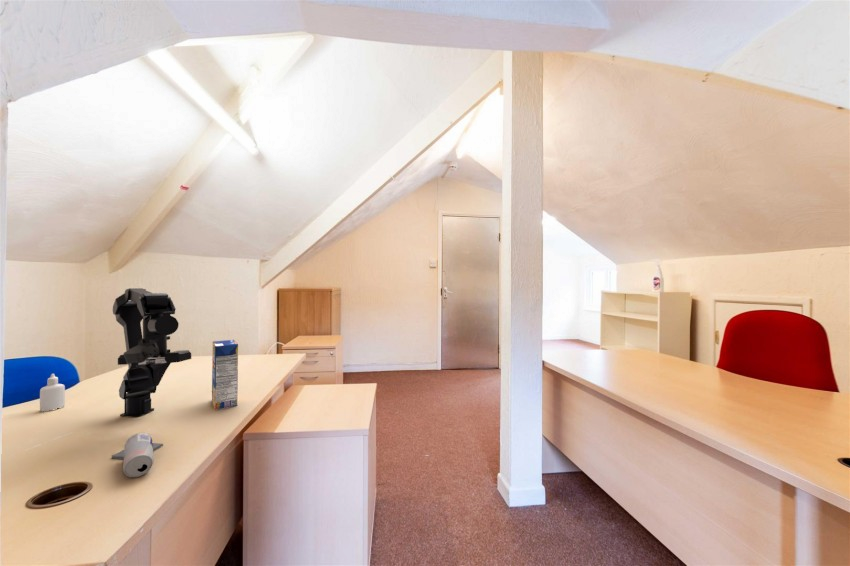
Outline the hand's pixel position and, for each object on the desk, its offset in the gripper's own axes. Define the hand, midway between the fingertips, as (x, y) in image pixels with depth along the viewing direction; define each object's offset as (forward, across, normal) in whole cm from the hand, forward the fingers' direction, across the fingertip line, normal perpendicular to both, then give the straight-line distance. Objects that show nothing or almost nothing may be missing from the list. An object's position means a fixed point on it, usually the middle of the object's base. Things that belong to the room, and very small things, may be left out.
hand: (155, 385), depth 102 cm
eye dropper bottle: (+9, -46, +12) cm, 48 cm away
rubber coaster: (+14, +7, -14) cm, 21 cm away
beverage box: (+12, +7, +21) cm, 26 cm away
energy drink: (+10, +9, -16) cm, 21 cm away
